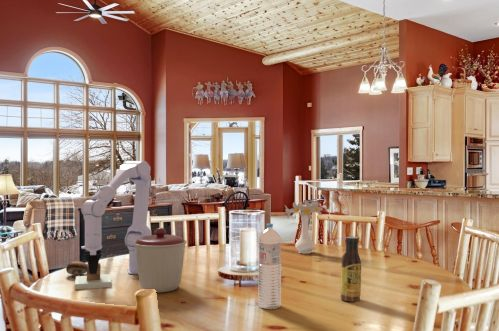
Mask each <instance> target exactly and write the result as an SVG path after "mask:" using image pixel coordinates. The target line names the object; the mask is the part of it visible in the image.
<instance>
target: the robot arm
mask: <svg viewBox="0 0 499 331" xmlns="http://www.w3.org/2000/svg"><path fill="white" fill-rule="evenodd" d="M151 168H152V167H151V166H150V164H149V163H148V162H147V161H146V160H124V162H123V163H122V164H121V165H119V170H118V172H116V174H115V175H114V177H113V178H112V179H111V180H110V181H109V182H108V184H106V185H105V184H104V185H101V186H99V190H97V192H96V193H95V194H94V195H92V196H91V197H90V199H88V200H85V202H83V204H82V206H81V208H80V212H81V214H82V215H83V221H84V245H82V246H80V247H81V249H82V250H85V251H84V252H85V253H84V257H85V259H86V262H87V264H88V266H89V271H90V274H96V273H97V268H98V263H100V259H101V256H102V249H103V245H102V242H103V241H102V233H103V232H102V229H103V228H102V220H103V218H102V216H103V215H104V214H105V212H106V209H107V207H108V204H110V202H112V200H113V199H114V198H115V196H116V191H117V190H118V189H119V188H120V187H121V186H122V185H123V184H125V182H126V181H127V180H128V179H129V180H130V181H132V182H133V184H135V191H134V203H133V215H132V224H131V225H130V226H129V227H128V228H127V232H126V235H125V237H124V244H125V246H126V247H127V250H128V255H129V256H128V263H129V264H128V268H127V272H128V275H134V274H135V275H136V274H137V275H138V267H137V258H136V248H135V245H134V244H133V242H134V241H136V240H137V239H138V238H140V237H144V236H149V235H152V230H151V229H150V227H148V225H147V220H148V212H149V211H148V210H149V197H150V186H151V178H150V177H151Z"/></svg>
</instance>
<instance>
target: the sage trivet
mask: <svg viewBox="0 0 499 331" xmlns="http://www.w3.org/2000/svg"><path fill="white" fill-rule="evenodd" d="M102 288H112V277H111V273H109V274H100V280H87V275H80V276H75V280H74V290H87V289H89V290H90V289H102Z"/></svg>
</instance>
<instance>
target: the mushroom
mask: <svg viewBox="0 0 499 331" xmlns="http://www.w3.org/2000/svg"><path fill="white" fill-rule="evenodd" d="M87 264H88V263H85V262H83V261H80V260H75V261H71V262H69V263H68V264H67V265H66V269H65V271H66V273H67V274H68V275H72V276H74V277H76V276H81V275H83V274H84V275H85V274H87Z"/></svg>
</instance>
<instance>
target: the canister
mask: <svg viewBox="0 0 499 331" xmlns="http://www.w3.org/2000/svg"><path fill="white" fill-rule="evenodd" d="M187 243H188V240H187V239H186V238H184V237H182V236H179V235H176V234H166V229H165V228H164V227H158V228H156V229H155V231H154V234H151V235H149V236H144V237H140V238H138V239H137V240H136V241H134V242H133V244H134V245H135V248H136V258H137V267H138V274H137V275H138V281H139V284H140V287H141V289H142V290H143V289H155V290H156V291H157V293H156V294H158V293H159V294H160V293H168V292H173V291H176V290H177V289H178V288H179V287H180V284H181V280H182V275H183V274H182V273H183V266H184V257H185V248H186V246H185V245H186V244H187Z"/></svg>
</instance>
